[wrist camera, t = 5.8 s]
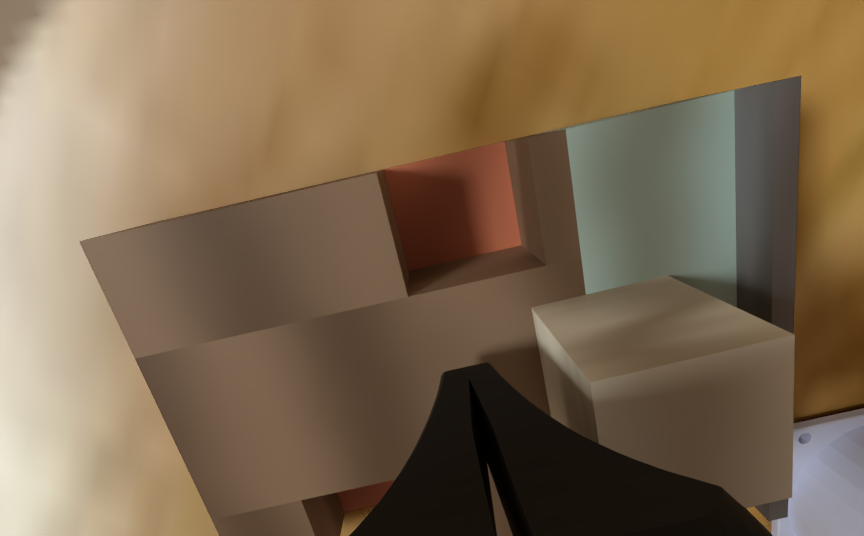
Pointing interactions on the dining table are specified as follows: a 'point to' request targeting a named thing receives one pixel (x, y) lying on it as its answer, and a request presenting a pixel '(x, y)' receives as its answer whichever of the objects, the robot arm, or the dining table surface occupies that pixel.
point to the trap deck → (433, 290)
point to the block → (675, 383)
